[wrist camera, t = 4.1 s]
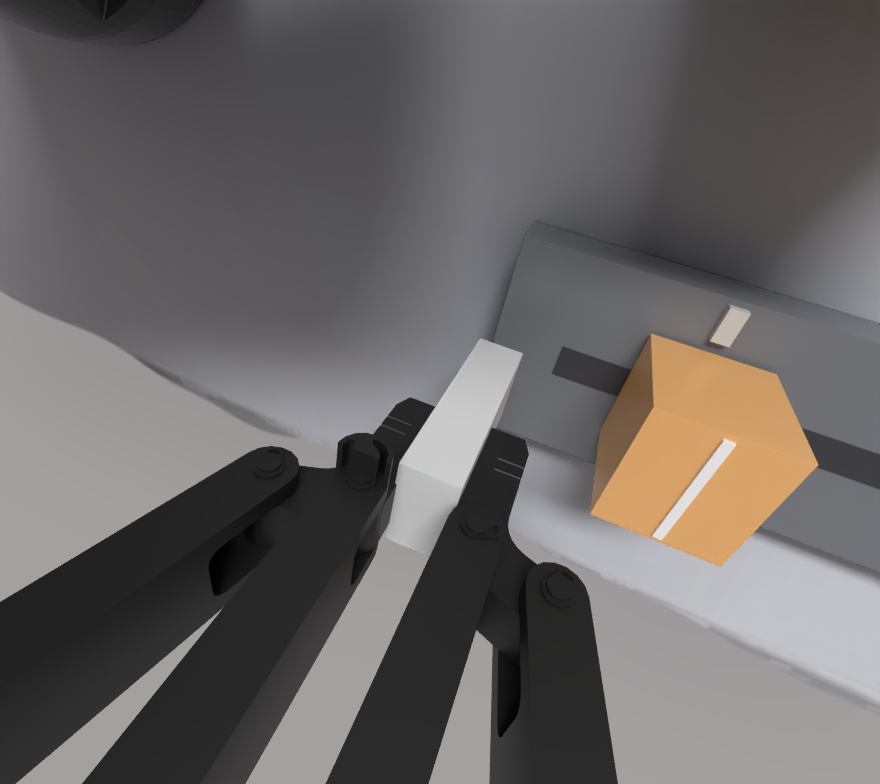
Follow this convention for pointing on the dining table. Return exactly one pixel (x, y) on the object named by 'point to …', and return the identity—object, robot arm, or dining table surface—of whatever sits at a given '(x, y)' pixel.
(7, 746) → the robot arm
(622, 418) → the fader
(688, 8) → the dining table surface
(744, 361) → the slide potentiometer
